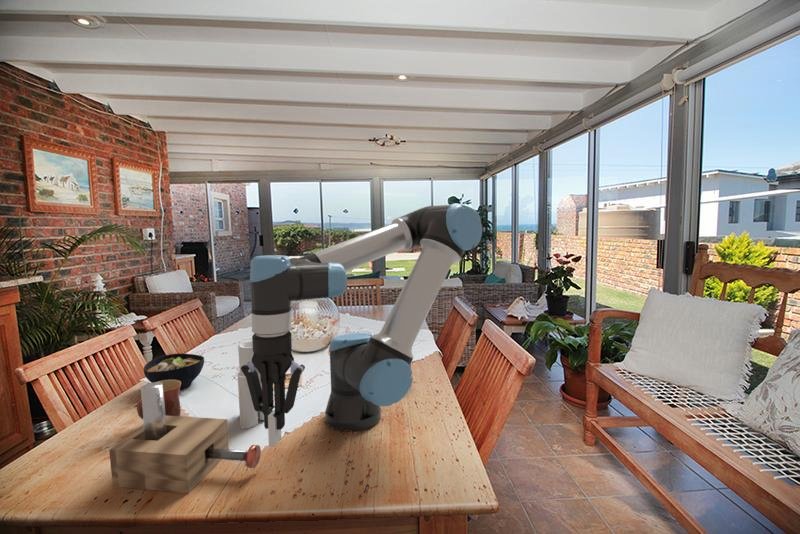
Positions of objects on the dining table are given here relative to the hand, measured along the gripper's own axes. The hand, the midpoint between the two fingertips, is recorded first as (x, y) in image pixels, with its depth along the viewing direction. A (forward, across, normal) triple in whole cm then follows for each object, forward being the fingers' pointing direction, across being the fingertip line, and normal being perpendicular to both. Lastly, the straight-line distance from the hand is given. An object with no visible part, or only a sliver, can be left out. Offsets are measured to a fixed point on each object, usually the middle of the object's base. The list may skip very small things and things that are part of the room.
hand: (275, 442), depth 79 cm
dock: (+8, +24, 0) cm, 25 cm away
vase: (+8, +17, -23) cm, 30 cm away
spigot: (+3, +28, 0) cm, 28 cm away
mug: (+8, +40, -16) cm, 44 cm away
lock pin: (+6, +11, 0) cm, 13 cm away
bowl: (+8, +53, -39) cm, 67 cm away
